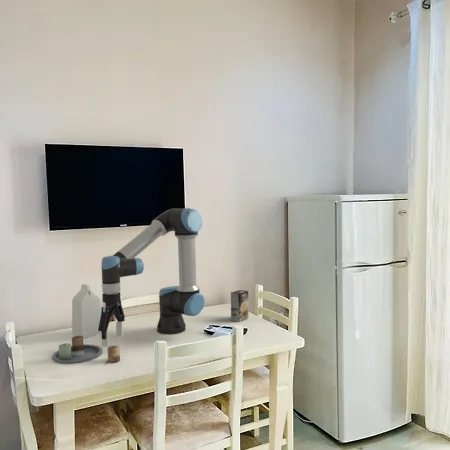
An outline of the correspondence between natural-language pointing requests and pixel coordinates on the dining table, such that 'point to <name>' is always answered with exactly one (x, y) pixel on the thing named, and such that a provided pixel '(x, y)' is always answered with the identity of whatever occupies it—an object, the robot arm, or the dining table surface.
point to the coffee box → (239, 305)
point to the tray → (80, 355)
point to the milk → (86, 313)
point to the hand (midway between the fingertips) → (112, 341)
